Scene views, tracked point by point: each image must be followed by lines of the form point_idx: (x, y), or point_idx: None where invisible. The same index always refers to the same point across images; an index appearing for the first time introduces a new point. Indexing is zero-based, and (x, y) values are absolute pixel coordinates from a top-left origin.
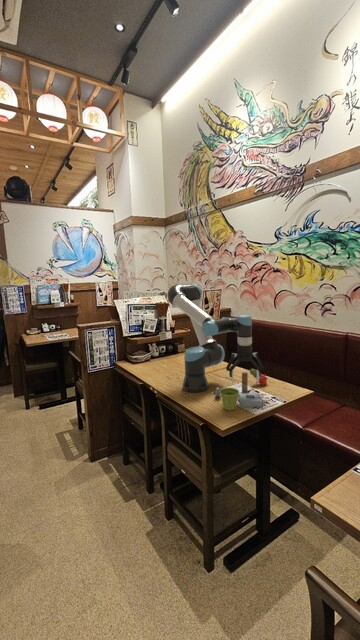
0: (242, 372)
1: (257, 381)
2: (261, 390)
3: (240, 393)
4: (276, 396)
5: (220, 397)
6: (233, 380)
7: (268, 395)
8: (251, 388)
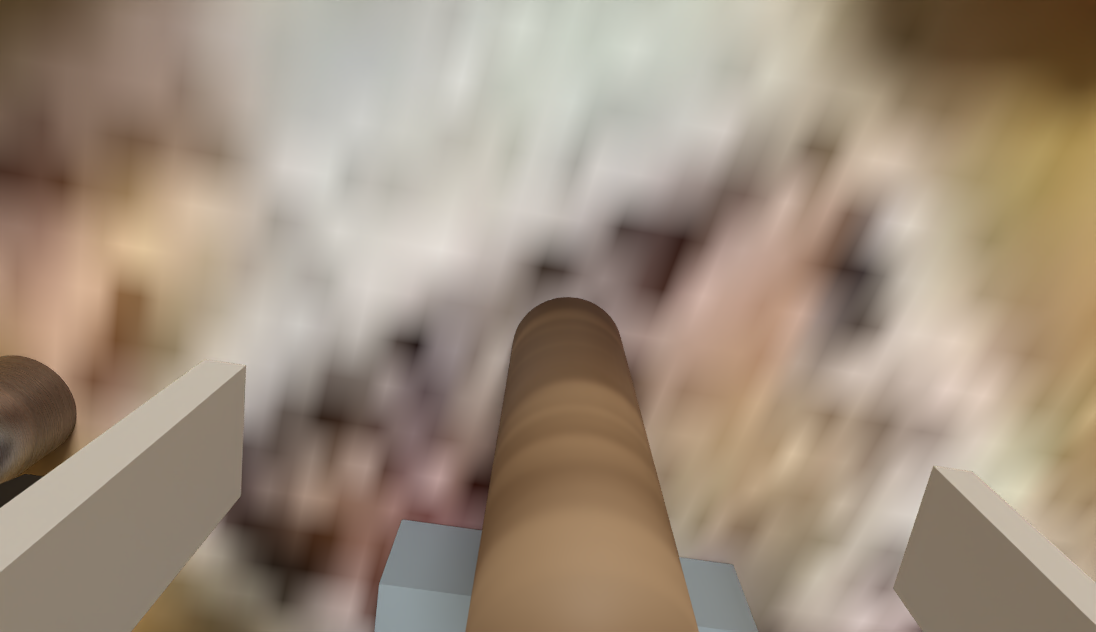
0: (499, 625)
1: (915, 584)
2: (971, 243)
3: (405, 604)
4: (1080, 548)
5: (71, 430)
6: (198, 543)
7: None
8: (815, 92)
